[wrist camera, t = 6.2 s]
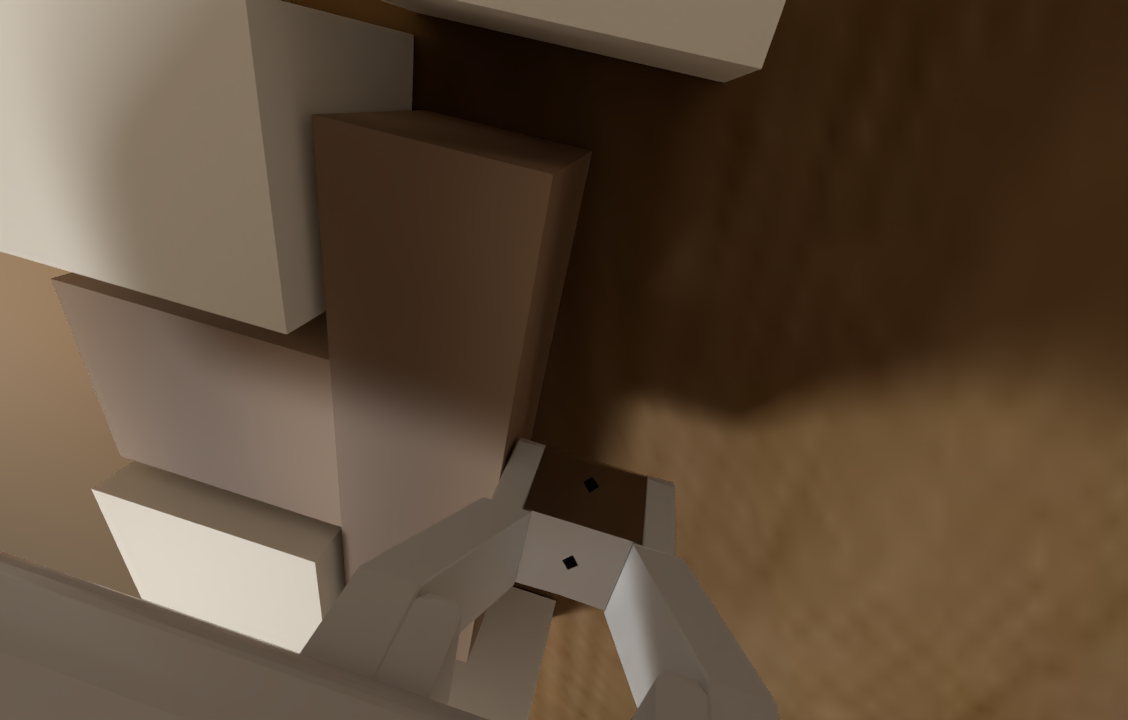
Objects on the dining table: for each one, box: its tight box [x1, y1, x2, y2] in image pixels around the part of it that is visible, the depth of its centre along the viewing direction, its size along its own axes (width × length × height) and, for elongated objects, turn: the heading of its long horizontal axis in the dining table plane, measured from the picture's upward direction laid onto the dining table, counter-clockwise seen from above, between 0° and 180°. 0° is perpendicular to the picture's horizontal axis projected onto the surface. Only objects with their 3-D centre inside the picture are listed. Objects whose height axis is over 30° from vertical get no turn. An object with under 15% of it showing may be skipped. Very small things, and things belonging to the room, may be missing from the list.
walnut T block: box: [51, 110, 592, 663], centre depth 10 cm, size 8×11×3 cm
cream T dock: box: [0, 0, 786, 720], centre depth 9 cm, size 10×16×4 cm, turn 169°
